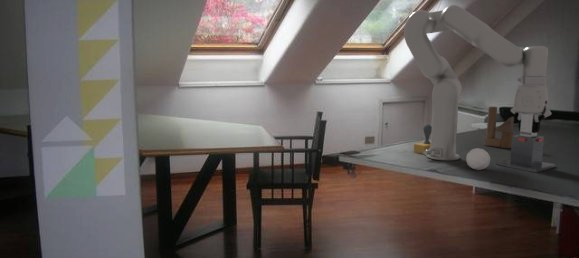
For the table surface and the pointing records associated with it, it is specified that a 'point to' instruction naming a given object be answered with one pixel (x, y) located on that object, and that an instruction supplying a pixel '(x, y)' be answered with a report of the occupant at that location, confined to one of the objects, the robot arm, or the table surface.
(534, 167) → the stand base
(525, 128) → the column
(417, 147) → the rubber stamp
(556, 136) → the table surface
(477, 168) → the geometric ball
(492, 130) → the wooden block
